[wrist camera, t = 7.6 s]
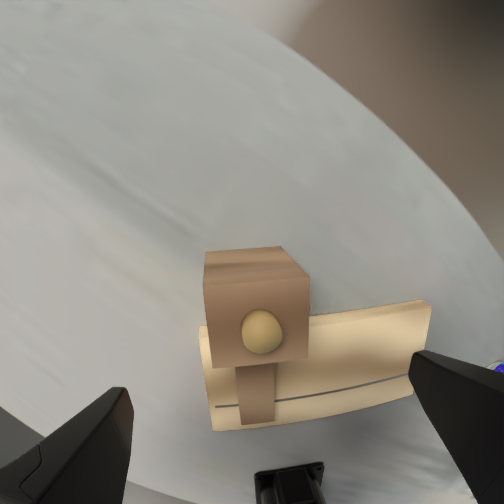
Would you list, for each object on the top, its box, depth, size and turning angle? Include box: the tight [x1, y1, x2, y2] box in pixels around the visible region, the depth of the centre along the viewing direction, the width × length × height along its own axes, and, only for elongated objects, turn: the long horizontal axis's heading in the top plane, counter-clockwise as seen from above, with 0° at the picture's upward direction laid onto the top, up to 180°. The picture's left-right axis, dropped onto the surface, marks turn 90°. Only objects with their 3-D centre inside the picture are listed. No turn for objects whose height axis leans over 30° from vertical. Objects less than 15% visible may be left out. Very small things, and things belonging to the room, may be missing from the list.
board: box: [199, 300, 432, 431], centre depth 20 cm, size 8×16×2 cm, turn 92°
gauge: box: [203, 246, 310, 425], centre depth 17 cm, size 11×4×7 cm, turn 3°
